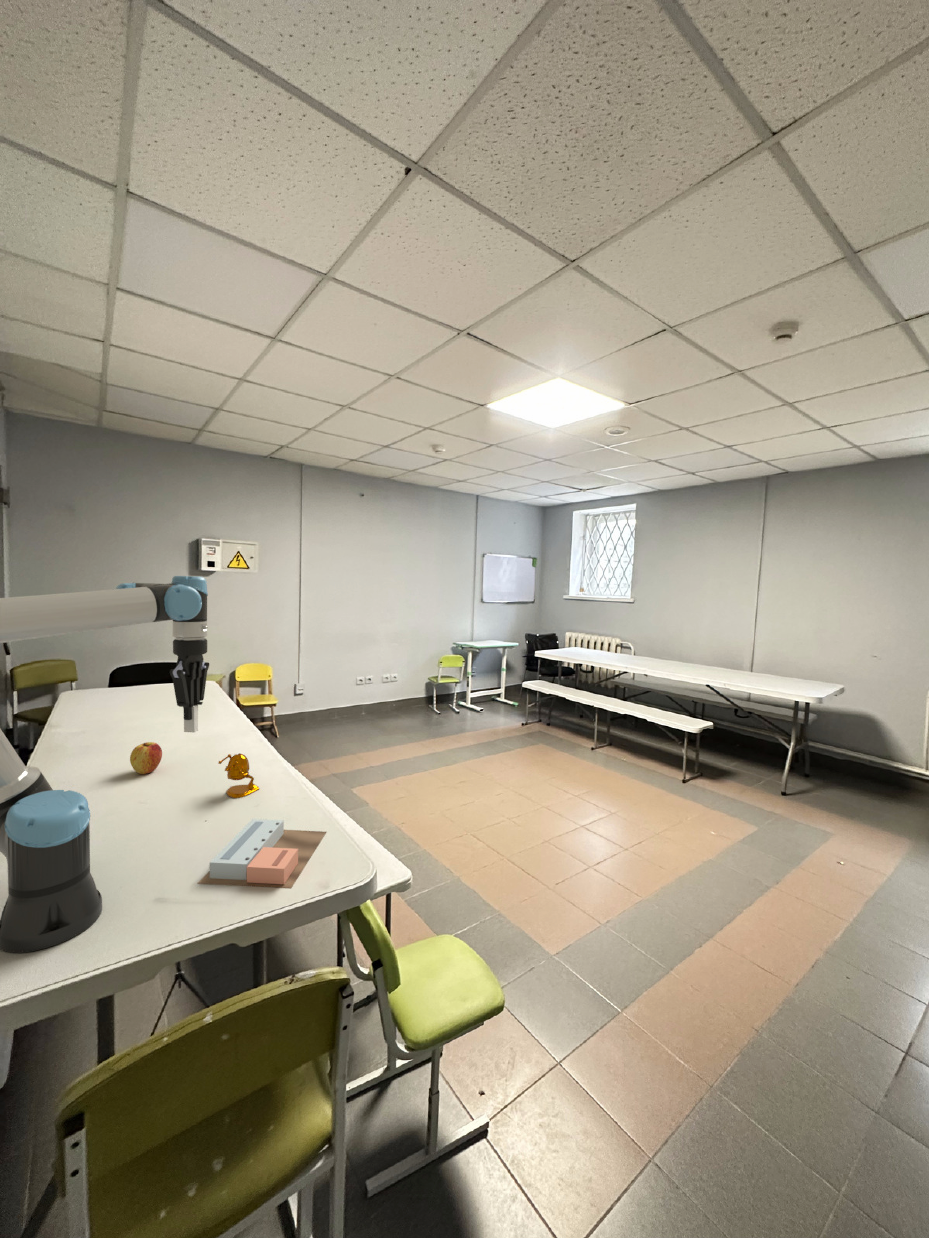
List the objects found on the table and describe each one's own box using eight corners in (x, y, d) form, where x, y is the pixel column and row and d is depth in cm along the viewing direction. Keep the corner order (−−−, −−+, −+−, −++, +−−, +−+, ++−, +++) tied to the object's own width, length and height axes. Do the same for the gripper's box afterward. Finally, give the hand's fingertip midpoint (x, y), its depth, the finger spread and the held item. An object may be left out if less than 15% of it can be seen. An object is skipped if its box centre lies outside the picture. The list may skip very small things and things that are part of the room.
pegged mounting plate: (246, 879, 106) (246, 863, 106) (209, 878, 107) (209, 861, 106) (283, 833, 126) (283, 819, 126) (252, 832, 127) (252, 818, 126)
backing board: (291, 891, 104) (291, 888, 104) (197, 886, 105) (197, 883, 105) (326, 834, 128) (326, 831, 128) (250, 830, 129) (250, 827, 129)
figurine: (217, 791, 152) (217, 753, 151) (254, 783, 159) (254, 746, 158) (225, 801, 145) (225, 761, 145) (263, 792, 152) (263, 754, 151)
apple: (159, 775, 163) (158, 745, 162) (126, 778, 159) (126, 748, 159) (164, 766, 171) (164, 737, 170) (133, 768, 168) (133, 739, 167)
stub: (284, 884, 105) (284, 868, 105) (246, 882, 105) (246, 866, 105) (298, 863, 113) (298, 848, 113) (263, 861, 113) (263, 846, 113)
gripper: (189, 641, 117) (189, 740, 119) (219, 636, 130) (219, 724, 132) (158, 640, 117) (159, 738, 119) (191, 635, 130) (192, 723, 132)
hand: (191, 731), depth 125 cm, fingers closed
